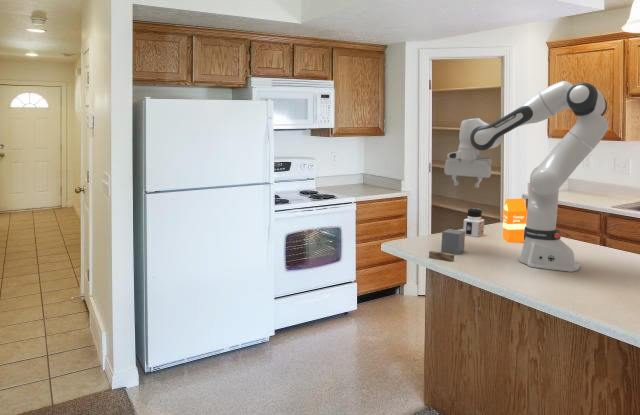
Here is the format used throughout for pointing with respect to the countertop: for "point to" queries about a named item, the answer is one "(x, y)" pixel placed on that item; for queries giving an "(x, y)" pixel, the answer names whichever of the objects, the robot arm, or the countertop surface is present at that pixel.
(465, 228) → the container
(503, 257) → the countertop surface
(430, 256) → the bar
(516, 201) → the orange juice
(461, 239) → the matte gray box
